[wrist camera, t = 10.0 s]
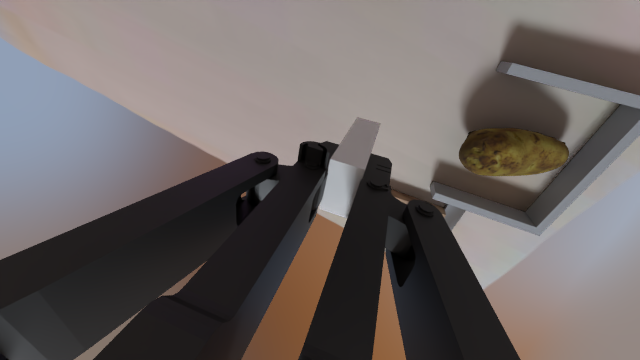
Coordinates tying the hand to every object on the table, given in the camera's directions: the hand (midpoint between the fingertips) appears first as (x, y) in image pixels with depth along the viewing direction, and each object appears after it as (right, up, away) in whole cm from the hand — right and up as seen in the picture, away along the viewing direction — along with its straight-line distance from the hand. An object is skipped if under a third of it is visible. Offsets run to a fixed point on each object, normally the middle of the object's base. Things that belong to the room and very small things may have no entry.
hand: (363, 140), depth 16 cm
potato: (+24, +3, +20) cm, 32 cm away
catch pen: (+26, +2, +20) cm, 33 cm away
